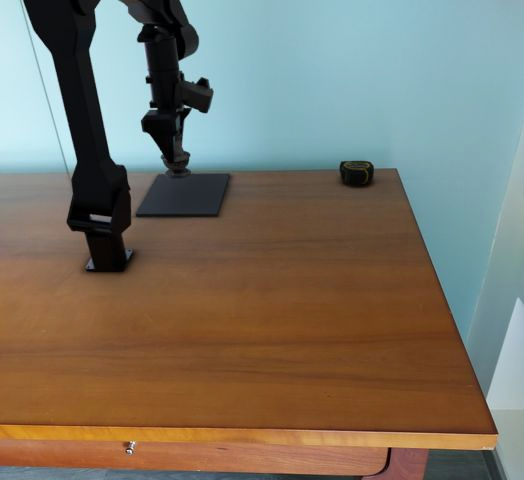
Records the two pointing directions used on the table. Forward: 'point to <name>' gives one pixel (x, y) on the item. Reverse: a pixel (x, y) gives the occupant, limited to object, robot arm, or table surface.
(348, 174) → the tape measure
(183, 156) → the salt shaker
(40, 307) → the table surface
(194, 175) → the mat
